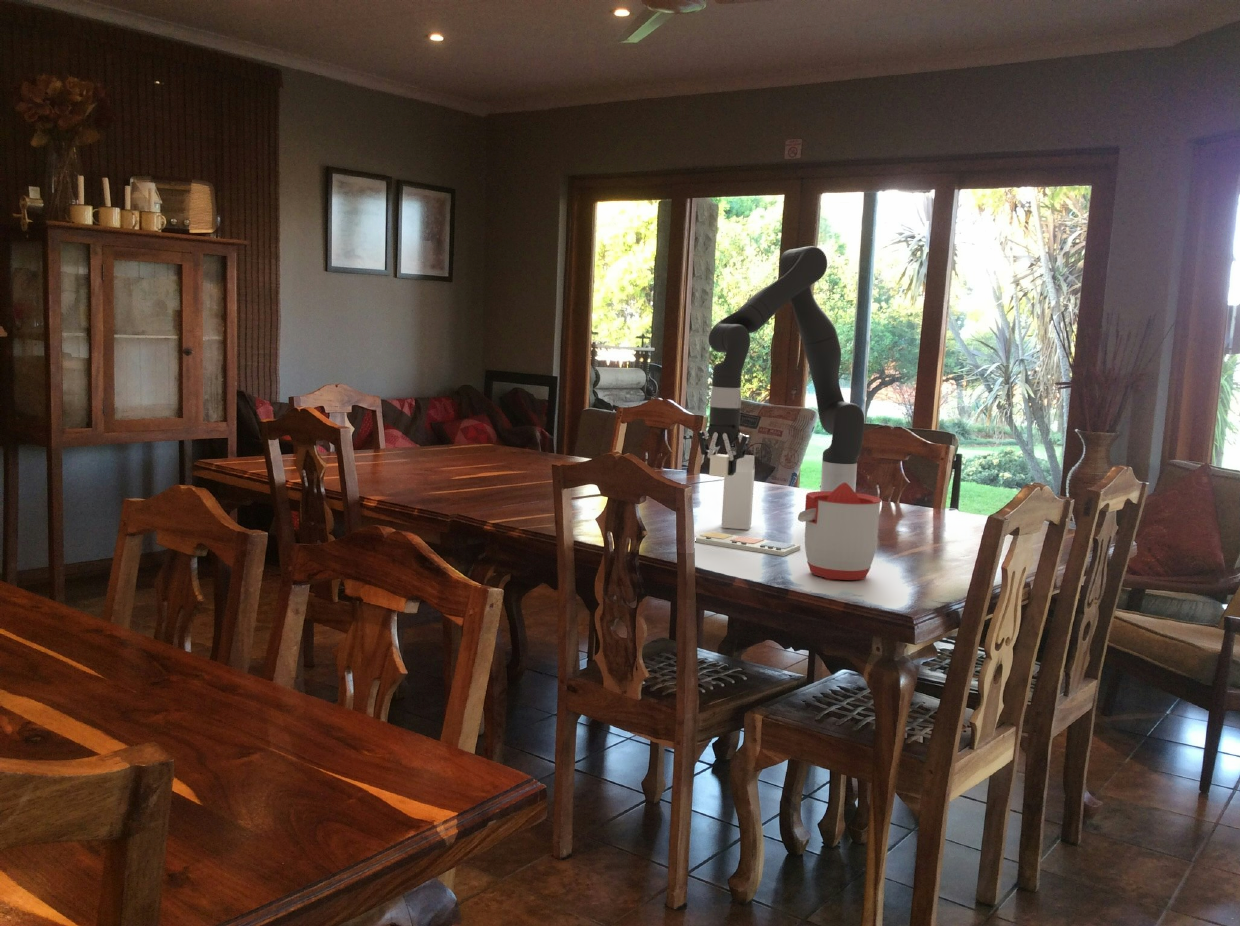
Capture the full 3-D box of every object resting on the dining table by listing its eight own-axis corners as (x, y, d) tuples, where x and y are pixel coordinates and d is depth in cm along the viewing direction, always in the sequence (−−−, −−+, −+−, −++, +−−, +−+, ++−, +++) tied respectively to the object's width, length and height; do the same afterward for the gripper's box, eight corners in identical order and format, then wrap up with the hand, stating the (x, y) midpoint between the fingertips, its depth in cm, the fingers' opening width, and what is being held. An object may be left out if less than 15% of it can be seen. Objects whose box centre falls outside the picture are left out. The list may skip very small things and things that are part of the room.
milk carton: (748, 530, 275) (753, 457, 273) (721, 528, 276) (725, 455, 274) (751, 525, 282) (755, 454, 280) (724, 523, 283) (728, 452, 281)
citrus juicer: (782, 567, 233) (788, 476, 230) (855, 566, 237) (862, 477, 234) (810, 584, 218) (817, 487, 215) (888, 583, 222) (896, 488, 219)
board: (709, 535, 265) (709, 530, 265) (800, 549, 253) (800, 544, 253) (690, 541, 257) (690, 535, 257) (783, 556, 245) (784, 550, 245)
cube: (717, 473, 269) (718, 453, 269) (733, 475, 267) (734, 455, 266) (709, 475, 265) (710, 455, 265) (725, 477, 263) (726, 457, 262)
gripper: (758, 407, 263) (754, 475, 266) (706, 402, 271) (702, 469, 273) (745, 408, 257) (741, 478, 259) (692, 403, 264) (689, 472, 267)
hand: (721, 473), depth 266 cm, fingers closed on cube, 4 cm apart
